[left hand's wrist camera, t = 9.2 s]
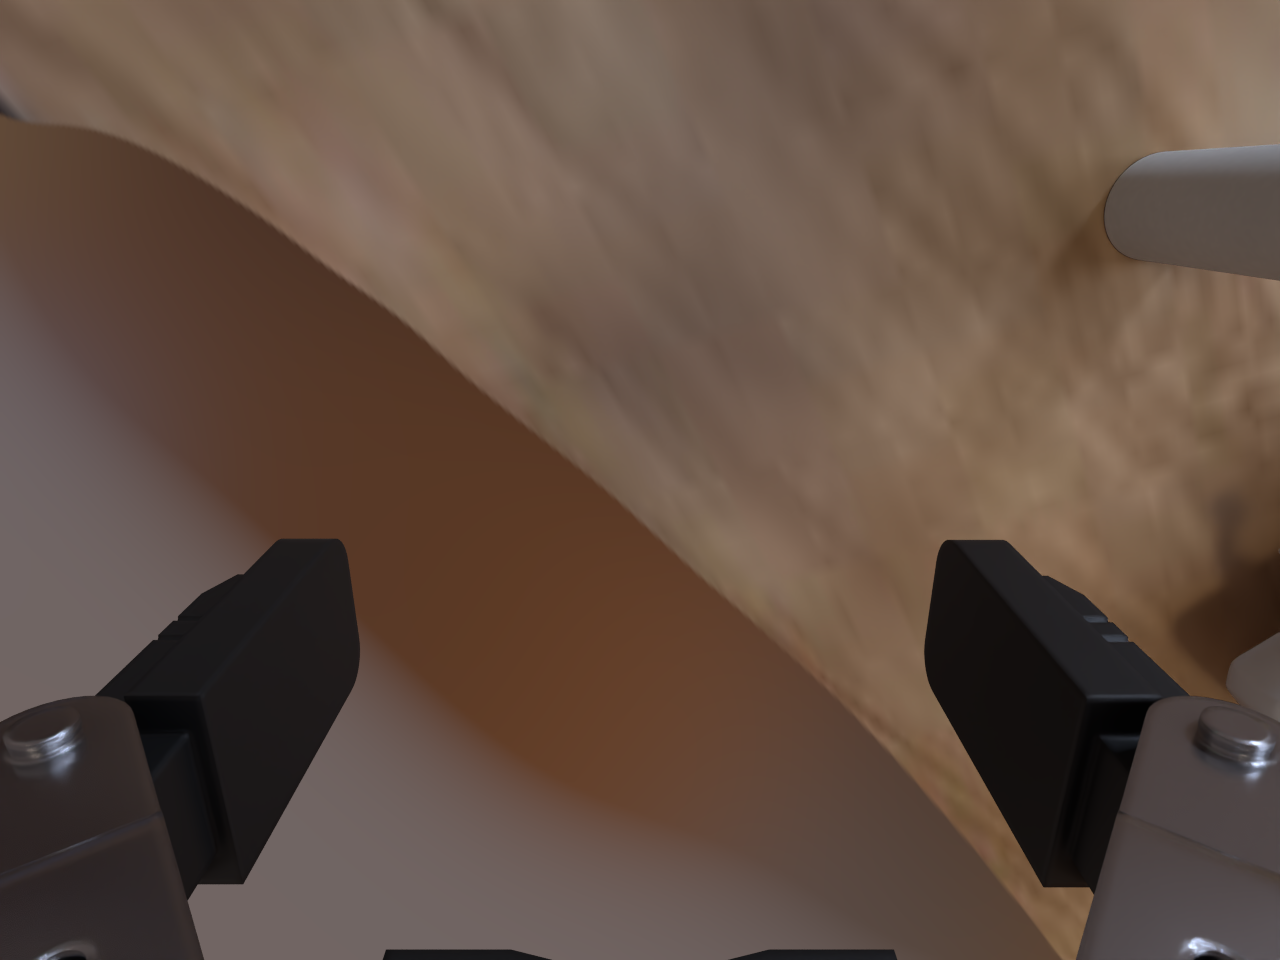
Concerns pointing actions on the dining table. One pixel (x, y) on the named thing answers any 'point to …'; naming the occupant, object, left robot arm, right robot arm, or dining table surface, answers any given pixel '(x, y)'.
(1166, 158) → the white tall cylinder
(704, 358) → the dining table surface
